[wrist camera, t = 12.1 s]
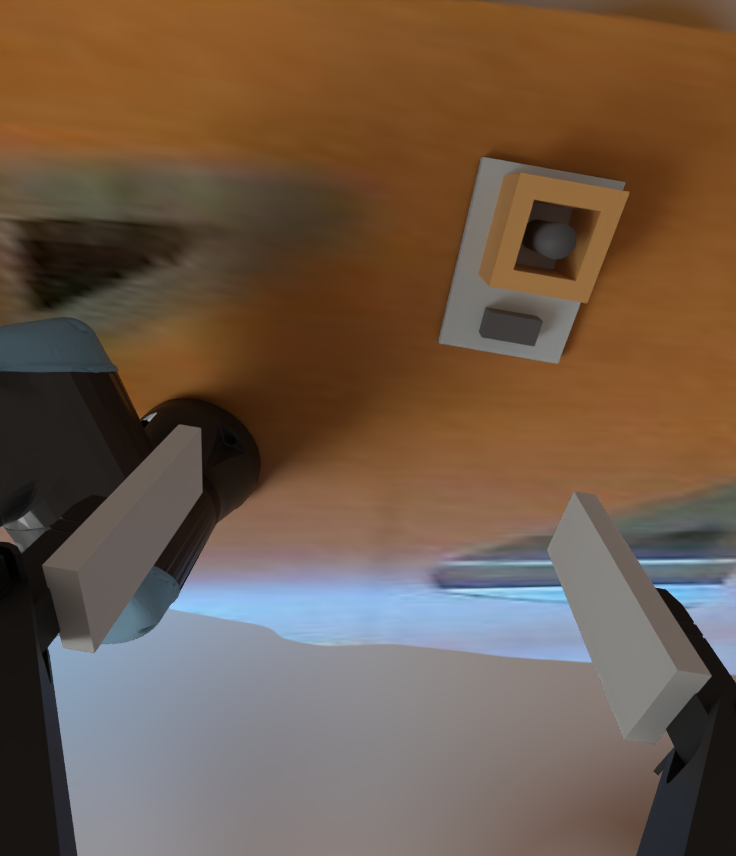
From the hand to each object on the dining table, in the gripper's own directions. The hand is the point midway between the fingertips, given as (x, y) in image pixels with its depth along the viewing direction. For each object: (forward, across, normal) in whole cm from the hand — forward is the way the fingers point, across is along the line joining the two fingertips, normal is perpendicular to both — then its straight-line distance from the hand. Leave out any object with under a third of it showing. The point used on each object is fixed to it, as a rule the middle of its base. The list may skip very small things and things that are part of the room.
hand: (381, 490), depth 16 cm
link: (+30, +11, +8) cm, 33 cm away
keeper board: (+32, +11, +5) cm, 34 cm away
